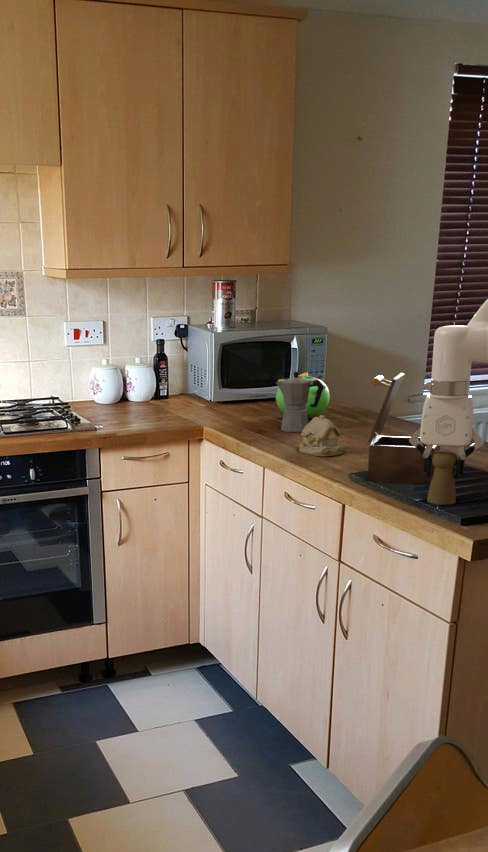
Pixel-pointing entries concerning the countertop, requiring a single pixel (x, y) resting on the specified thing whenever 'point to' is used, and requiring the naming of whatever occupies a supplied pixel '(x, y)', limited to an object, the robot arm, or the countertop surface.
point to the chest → (397, 461)
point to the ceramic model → (320, 438)
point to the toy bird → (311, 397)
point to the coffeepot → (297, 402)
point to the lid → (385, 402)
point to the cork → (443, 478)
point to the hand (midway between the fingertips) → (443, 475)
